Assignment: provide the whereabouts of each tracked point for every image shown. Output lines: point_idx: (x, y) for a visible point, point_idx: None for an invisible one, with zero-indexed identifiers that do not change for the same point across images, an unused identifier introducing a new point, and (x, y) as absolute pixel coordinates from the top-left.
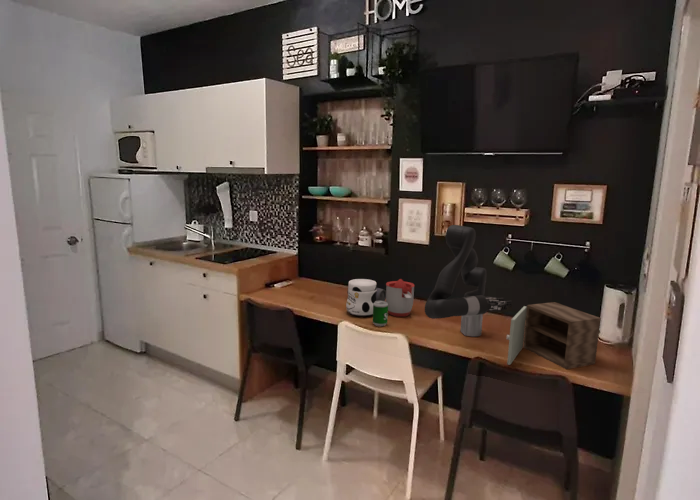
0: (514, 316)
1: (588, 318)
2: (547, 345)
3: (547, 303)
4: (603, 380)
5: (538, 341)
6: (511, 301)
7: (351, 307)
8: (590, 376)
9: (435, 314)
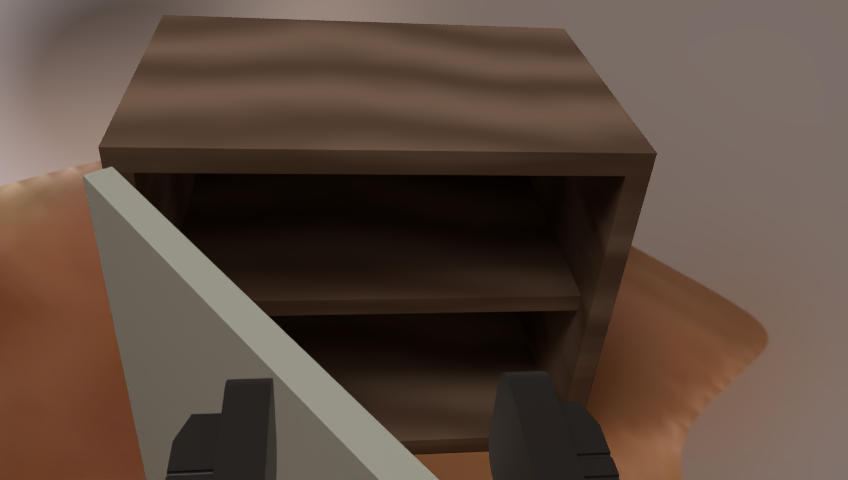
0: (373, 470)
1: (569, 62)
2: None
3: (163, 48)
4: (723, 372)
5: None
6: (548, 386)
7: None
8: (675, 394)
9: None
